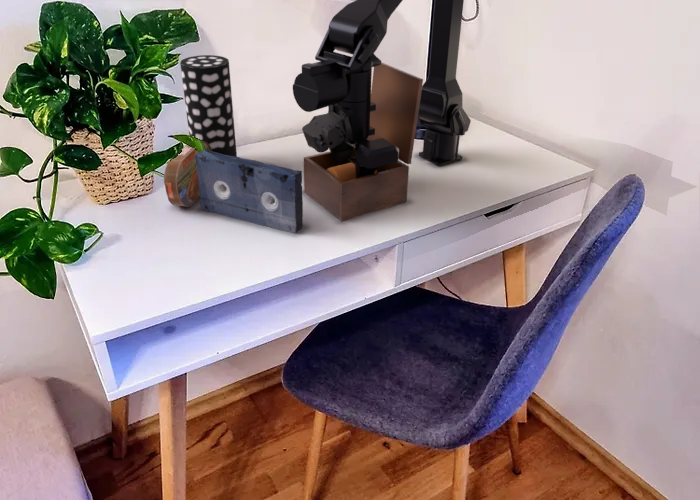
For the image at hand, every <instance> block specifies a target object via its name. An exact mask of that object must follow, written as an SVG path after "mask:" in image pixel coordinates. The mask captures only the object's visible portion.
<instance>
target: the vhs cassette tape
mask: <svg viewBox="0 0 700 500" xmlns="http://www.w3.org/2000/svg"><path fill="white" fill-rule="evenodd" d="M195 160H196V165H197V166H198V167H197V176H198V186H199V194H200V197H199V202H200V209H201V210H202V211H205V212H208V213H214V214H217V215H220V216H224V217H229V218H233V219H237V220H240V221H245V222H249V223H252V224H255V225H259V226H263V227H264V226H265V227H268V228H272V229H276V230H279V231H284V232H287V233H291V234H296V233H297V232H299V230H301V229H302V227H303V226H304V223H303V222H304V209H303V208H304V206H303V204H304V201H303V185H302V184H303V171H302V170H297V169H292V168H289V167H285V166H279V165H276V164H271V163H265V162H261V161H258V160H255V159H254V160H253V159H249V158H242V157H239V156H237V157H235V156H229V155H223V154H220V153H217V152H212V151H207V150H203V151H200V152H198V153H197V154H195Z"/></svg>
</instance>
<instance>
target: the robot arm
mask: <svg viewBox="0 0 700 500" xmlns="http://www.w3.org/2000/svg"><path fill="white" fill-rule="evenodd" d="M403 1H404V0H354V1H351V2H349V3H348V4H346V5H344V7H343V8H341V9H339V11H338V12H337V13H336V14H334V16H333V17H332V18H331V20H330V21H329V24H328V28H327V30H326V33H325V34H324V37H323V39H322V41H321V43H320V46H319V48H318V50H317V52H316V54H315V57H314V59H315V60H316V62H312V63H311V62H308V63H303V64H302V65H301V73H298V74H297V76H296V77H295V78H294V82H293V84H292V94H293V98H294V100H295V102H296V104H297V105H298V107H299V108H300V109H301V110H302V111H304V112H306V113H312V112H315V111H318V110H321V109H325V108H327V107H328V108H327V109H328V110H327V112H326V113H322V114H318V115H314V116H313V117H312V118H311V120H310V121H309V122H308V123H307V124H305V125H303V126H302V128H301V130H302V133H303V136H304V138H305V141H306V143H307V147H310V148H312V149H313V150H315V152H317V153H318V154H321V153H325V152H328V150H329V151H330V152H331V154H332V157H333V160H334V163H335V166H339V165H343V164H347V163H350V161H351V162H352V163H353V164H354V165H355V171H356V178H360V177H364V176H368V175H371V174H374V172H375V171H376V169H377V168H378V167H380V166H383V165H387V164H391V163H395V162H398V160H399V148H398V147H397V146H396V145H394V144H392V143H391V142H389V141H387V140H385V139H383V138H380V139H376V140H372V141H370V140H369V139H367V138H368V136H371V135H375V128H373V127H371V126H370V112H371V111H375V110H376V104H374V103H372V102H371V90H372V79H373V68H374V67H375V66H378V65H381V62H382V60H381V59H380V58H379V57H378V56H376V54H375V53H376V51H377V50H378V48H379V47H380V45H381V43H382V42H383V40H384V38H385V36H386V35H387V32H388V21H389V20H390V18H391V16H392V14H393V13H394V12H395V11H396V9H397V8H398V7H399V6H400V5H401V3H402V2H403ZM464 1H465V0H434V4H433V5H434V6H433V15H432V16H433V18H432V30H431V41H430V42H431V43H430V55H429V65H428V66H429V67H428V76H427V78H426V80H425V82H424V83H423V84H422V91H421V97H420V104H419V111H418V118H417V121H418V124H419V126H420V127H425V136H423V143H422V144H423V146H422V151H419V152H418V156H419V157H422V158H423V159H425V160H427V161H428V162H430V163H432V164H434V165H435V166H438V167H440V166H444V165H448V164H452V163H455V162H459V161H462V160H463V159H464V157H463V155H461V154H459V145H460V137H461V136H465V134H466V132H468V131H469V129H470V125H471V121H472V120H471V118H470V117H469V116H468V114H467V112H466V111H465V109H464V108H463V91H462V89H461V87H460V85H459V82H458V79H457V68H458V60H459V59H458V58H459V49H460V39H461V31H462V20H463V11H464ZM336 51H338V52H336ZM339 52H341V53H339ZM343 53H345V54H343ZM347 54H349V55H347ZM350 55H352V56H350ZM354 146H355V147H357V148H356V149H355V157H352V158H351V156H352V152H353V148H354ZM399 161H400V160H399Z"/></svg>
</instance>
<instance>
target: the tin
mask: <svg viewBox="0 0 700 500" xmlns="http://www.w3.org/2000/svg"><path fill="white" fill-rule="evenodd" d="M202 142H203V144H204V146H205V149H206V150H207V151H212V149H211V147H210V145H209V144H208V143H207V142H205V141H202ZM195 148H196V147H195ZM195 148H192V147H190V146H188V145H187V144H186V145H185V146H184V147H182V148H181V150H182V152H181V153H180V154H178V156H177V157H176V158H174V159H172V158H171V159H172V160H171V159H170V160H171V161H170V160H169V161H168V163H166V167H165V169H164V176H163V184H164V187H165V193H166V196H167V200H168V202H169V203H170V204H171V205H173V206H175V207H185V208H190V207H192V206H193V205H195V203H196V202H197V201H198V199H200V194H199V186H198V176H197V167H198V166H197V165H196V160H195V154H197V153H198V151H196V150H195Z"/></svg>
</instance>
